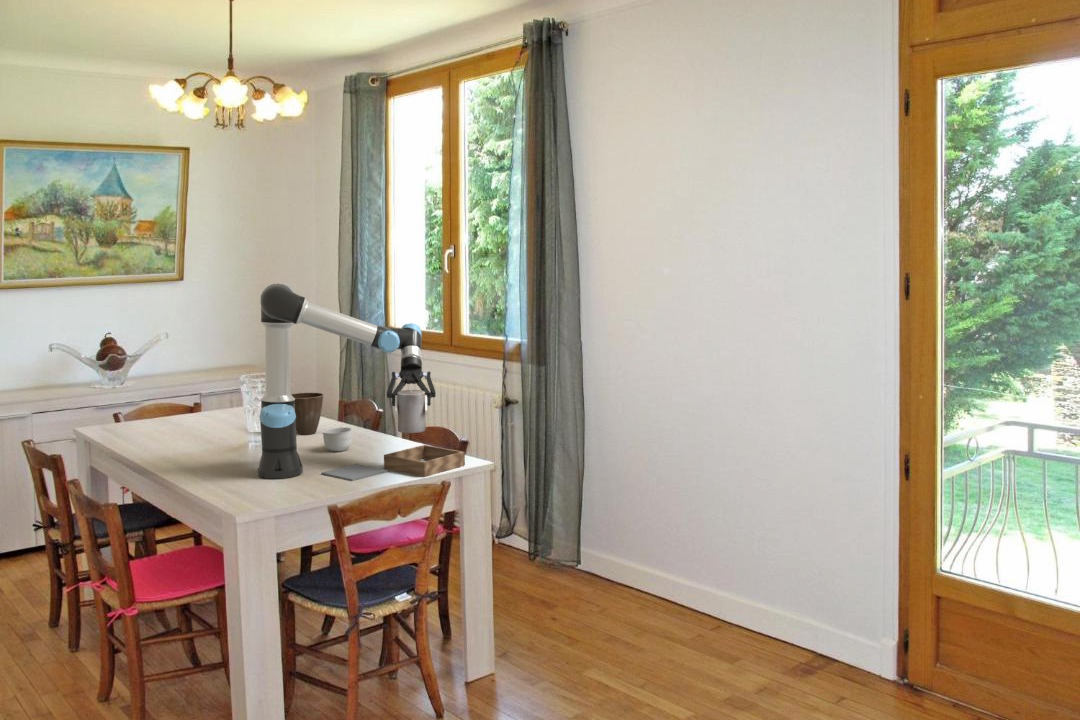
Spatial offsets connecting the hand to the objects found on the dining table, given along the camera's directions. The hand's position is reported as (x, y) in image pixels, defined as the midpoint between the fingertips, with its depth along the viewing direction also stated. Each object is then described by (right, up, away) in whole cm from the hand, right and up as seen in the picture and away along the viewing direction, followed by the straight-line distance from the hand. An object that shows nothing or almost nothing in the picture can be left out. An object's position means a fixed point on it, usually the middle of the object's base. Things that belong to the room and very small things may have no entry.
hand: (411, 412), depth 344 cm
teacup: (-32, -16, +38) cm, 53 cm away
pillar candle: (0, -7, +4) cm, 8 cm away
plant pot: (-52, -12, +69) cm, 88 cm away
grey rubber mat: (-20, -21, 0) cm, 29 cm away
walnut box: (+4, -20, +7) cm, 21 cm away
